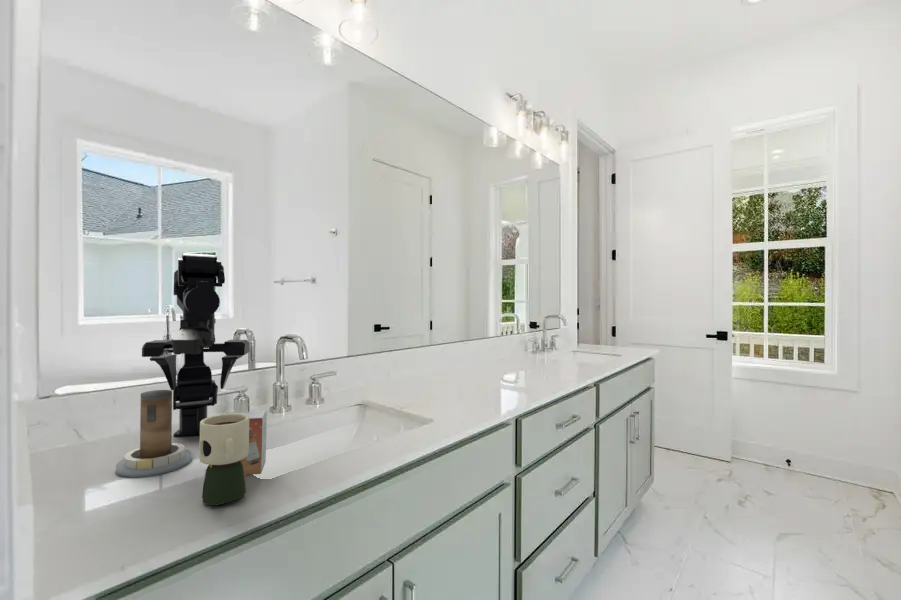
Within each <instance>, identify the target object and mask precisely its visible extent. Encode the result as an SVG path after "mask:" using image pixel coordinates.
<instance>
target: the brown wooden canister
mask: <svg viewBox="0 0 901 600" xmlns="http://www.w3.org/2000/svg"><path fill="white" fill-rule="evenodd" d="M139 412H140V419H139V420H140V421H139V422H140V425H139V426H140V427H139V432H140V433H139V434H140V435H139V448H140V459H149V458H157V457H162V456H166V455H169V454H171V444H172V443H173V442H172V436H173V435H172V433H173V431H172V429H173V428H172V425H173V419H172V418H173V417H172V416H173V390H171V389H156V390H155V389H154V390H149V391H144V392H141V393H140V411H139Z"/></svg>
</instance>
